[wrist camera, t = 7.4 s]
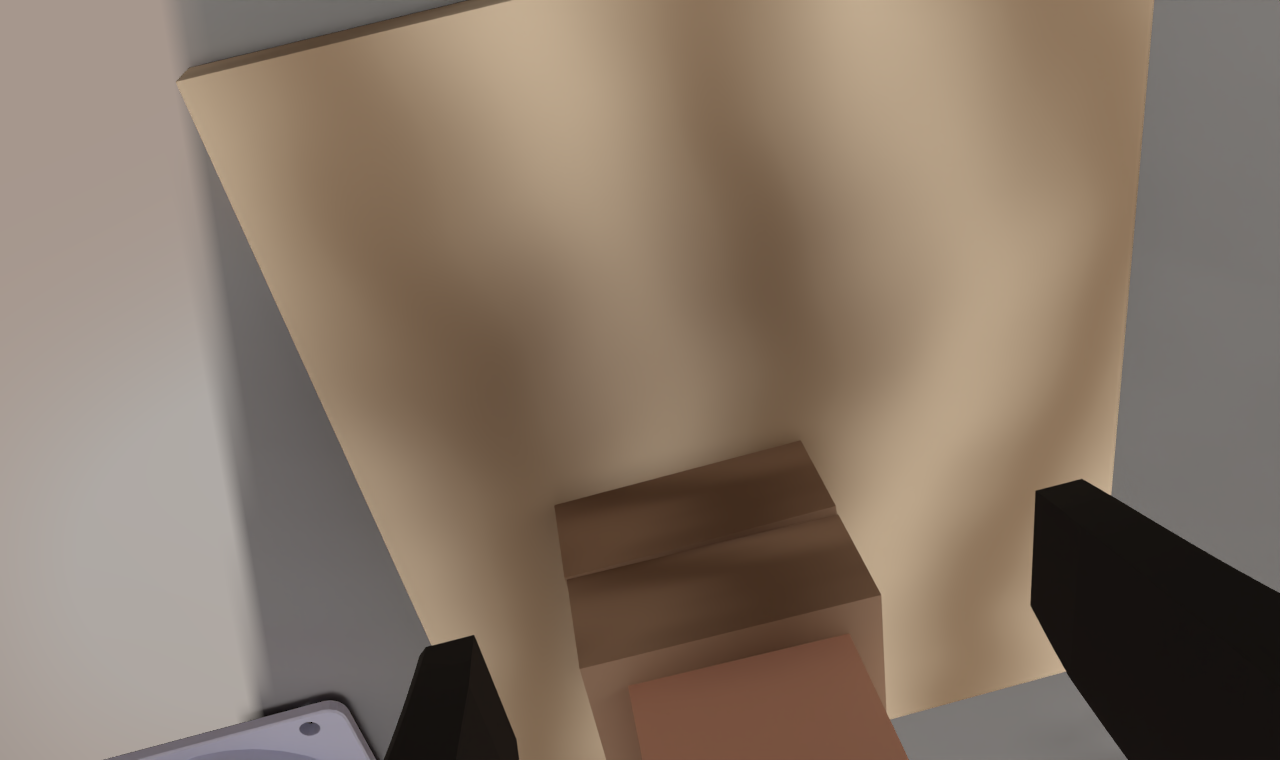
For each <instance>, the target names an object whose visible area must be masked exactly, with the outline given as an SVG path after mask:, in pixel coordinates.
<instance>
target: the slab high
mask: <svg viewBox="0 0 1280 760" xmlns="http://www.w3.org/2000/svg"><path fill="white" fill-rule="evenodd" d="M567 585H568V592H569V599H570V606H571V613H572V620H573V627H574V634H575V641H576V648H577V654H578V661H579V668H580V672H581V676H582V679H583V682H584V686H585V689H586V693H587V696H588V699H589V703H590V706H591V710H592V713H593V716H594V720H595V723H596V727H597V730H598V734H599V737H600V740H601V744H602V747H603V751H604V754H605V757H606V760H642V756H641V751H640V746H639V741H638V735H637V730H636V725H635V720H634V715H633V710H632V705H631V700H630V695H629V689H628V686H630V685H634V684H638V683H642V682H647V681H651V680H655V679H659V678H663V677H668V676H672V675H676V674H680V673H684V672H689V671H693V670H697V669H701V668H705V667H710V666H714V665H718V664H722V663H726V662H731V661H735V660H739V659H743V658H748V657H752V656H756V655H760V654H764V653H769V652H773V651H777V650H781V649H785V648H790V647H794V646H798V645H802V644H806V643H811V642H815V641H819V640H823V639H827V638H832V637H836V636H840V635H844V634H848V633H849V634H850V636H851V638H852V640H853V642H854V645H855V647H856V649H857V651H858V653H859V655H860V657H861V659H862V662H863V664H864V666H865V668H866V670H867V672H868V674H869V676H870V679H871V681H872V683H873V685H874V687H875V689H876V691H877V693H878V696H879V698H880V700H881V702H882V704H883V706H884V708H885V710H886V689H885V667H884V644H883V621H882V599H881V593H880V591H879V590H878V588H877V586H876V584H875V582H874V580H873V578H872V576H871V575H870V573H869V571H868V569H867V567H866V565H865V563H864V561H863V560H862V558H861V556H860V554H859V552H858V550H857V548H856V546H855V545H854V543H853V541H852V539H851V537H850V535H849V533H848V531H847V530H846V528H845V526H844V524H843V522H842V520H841V518H840V516H839V515H838V514H837V515H833V516H829V517H825V518H820V519H816V520H812V521H808V522H804V523H800V524H795V525H791V526H787V527H783V528H779V529H775V530H771V531H766V532H762V533H758V534H754V535H750V536H746V537H742V538H737V539H733V540H729V541H725V542H721V543H717V544H712V545H708V546H704V547H700V548H696V549H692V550H688V551H683V552H679V553H675V554H671V555H667V556H663V557H659V558H654V559H650V560H646V561H642V562H638V563H634V564H629V565H625V566H621V567H617V568H613V569H609V570H605V571H600V572H596V573H592V574H588V575H584V576H580V577H576V578H571V579H567ZM886 713H887V712H886Z"/></svg>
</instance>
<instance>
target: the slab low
mask: <svg viewBox="0 0 1280 760" xmlns="http://www.w3.org/2000/svg"><path fill="white" fill-rule="evenodd" d="M554 508H555V515H556V522H557V529H558V536H559V543H560V550H561V557H562V564H563V571H564V578H565V581H566V584H567V579H571V578H576V577H580V576H584V575H588V574H592V573H596V572H600V571H605V570H609V569H613V568H617V567H621V566H625V565H629V564H634V563H638V562H642V561H646V560H650V559H654V558H659V557H663V556H667V555H671V554H675V553H679V552H683V551H688V550H692V549H696V548H700V547H704V546H708V545H712V544H717V543H721V542H725V541H729V540H733V539H737V538H742V537H746V536H750V535H754V534H758V533H762V532H766V531H771V530H775V529H779V528H783V527H787V526H791V525H795V524H800V523H804V522H808V521H812V520H816V519H820V518H825V517H829V516H833V515H837V511H836V505H835V503H834V501H833V500H832V498H831V496H830V494H829V492H828V490H827V488H826V487H825V485H824V483H823V481H822V479H821V477H820V475H819V473H818V472H817V470H816V468H815V466H814V464H813V462H812V460H811V459H810V457H809V455H808V453H807V451H806V449H805V447H804V446H803V444H802V442H801V440H800V441H796V442H793V443H789V444H785V445H781V446H777V447H774V448H770V449H766V450H762V451H758V452H755V453H751V454H747V455H743V456H739V457H736V458H732V459H728V460H724V461H720V462H717V463H713V464H709V465H705V466H701V467H697V468H694V469H690V470H686V471H682V472H678V473H675V474H671V475H667V476H663V477H659V478H656V479H652V480H648V481H644V482H640V483H637V484H633V485H629V486H625V487H621V488H618V489H614V490H610V491H606V492H602V493H599V494H595V495H591V496H587V497H583V498H580V499H576V500H572V501H568V502H564V503H561V504H557V505H554ZM567 587H568V585H567Z"/></svg>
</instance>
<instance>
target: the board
mask: <svg viewBox="0 0 1280 760" xmlns="http://www.w3.org/2000/svg"><path fill="white" fill-rule="evenodd" d="M1153 6H1154V0H468V1H464V2H459V3H455V4H451V5H447V6H443V7H439V8H435V9H430V10H426V11H422V12H418V13H414V14H410V15H406V16H402V17H397V18H393V19H389V20H385V21H381V22H377V23H373V24H369V25H364V26H360V27H356V28H352V29H348V30H344V31H340V32H336V33H331V34H327V35H323V36H319V37H315V38H311V39H307V40H303V41H298V42H294V43H290V44H286V45H282V46H278V47H274V48H269V49H265V50H261V51H257V52H253V53H249V54H245V55H241V56H236V57H232V58H228V59H224V60H220V61H216V62H212V63H208V64H203V65H199V66H195V67H191V68H189V69H188V70H187V71H186V72H185V73H184V74H183V75H182V76H181V77H180V78H179V79H178V80H177V81H176V84H177V86H178V88H179V90H180V93H181V95H182V97H183V99H184V101H185V104H186V106H187V108H188V110H189V112H190V115H191V117H192V119H193V121H194V123H195V126H196V128H197V130H198V132H199V134H200V137H201V139H202V141H203V143H204V145H205V148H206V150H207V152H208V154H209V156H210V159H211V161H212V163H213V165H214V167H215V170H216V172H217V174H218V176H219V178H220V181H221V183H222V185H223V187H224V189H225V192H226V194H227V196H228V198H229V200H230V203H231V205H232V207H233V209H234V211H235V214H236V216H237V218H238V220H239V222H240V225H241V227H242V229H243V231H244V233H245V236H246V238H247V240H248V242H249V244H250V247H251V249H252V251H253V253H254V255H255V258H256V260H257V262H258V264H259V266H260V269H261V271H262V273H263V275H264V277H265V280H266V282H267V284H268V286H269V289H270V291H271V293H272V295H273V297H274V300H275V302H276V304H277V306H278V308H279V311H280V313H281V315H282V317H283V319H284V322H285V324H286V326H287V328H288V330H289V333H290V335H291V337H292V339H293V341H294V344H295V346H296V348H297V350H298V352H299V355H300V357H301V359H302V361H303V363H304V366H305V368H306V370H307V372H308V374H309V377H310V379H311V381H312V383H313V385H314V388H315V390H316V392H317V394H318V396H319V399H320V401H321V403H322V405H323V407H324V410H325V412H326V414H327V416H328V418H329V421H330V423H331V425H332V427H333V429H334V432H335V434H336V436H337V438H338V440H339V443H340V445H341V447H342V449H343V451H344V454H345V456H346V458H347V460H348V462H349V465H350V467H351V469H352V471H353V473H354V476H355V478H356V480H357V482H358V485H359V487H360V489H361V491H362V493H363V496H364V498H365V500H366V502H367V504H368V507H369V509H370V511H371V513H372V515H373V518H374V520H375V522H376V524H377V526H378V529H379V531H380V533H381V535H382V537H383V540H384V542H385V544H386V546H387V548H388V551H389V553H390V555H391V557H392V559H393V562H394V564H395V566H396V568H397V570H398V573H399V575H400V577H401V579H402V581H403V584H404V586H405V588H406V590H407V592H408V595H409V597H410V599H411V601H412V603H413V606H414V608H415V610H416V612H417V614H418V617H419V619H420V621H421V623H422V625H423V628H424V630H425V632H426V634H427V636H428V639H429V641H430V643H431V645H436V644H440V643H444V642H448V641H452V640H456V639H460V638H463V637H467V636H471V635H475V638H476V640H477V643H478V645H479V648H480V650H481V653H482V655H483V658H484V660H485V663H486V665H487V668H488V670H489V672H490V675H491V677H492V680H493V682H494V685H495V687H496V690H497V692H498V695H499V697H500V700H501V702H502V705H503V707H504V710H505V712H506V715H507V717H508V720H509V722H510V724H511V727H512V729H513V732H514V734H515V737H516V739H517V747H518V754H519V760H606V757H605V754H604V751H603V747H602V744H601V740H600V737H599V734H598V730H597V727H596V723H595V720H594V716H593V713H592V710H591V706H590V703H589V699H588V696H587V693H586V689H585V686H584V682H583V679H582V676H581V672H580V668H579V661H578V654H577V648H576V641H575V634H574V627H573V620H572V613H571V606H570V599H569V592H568V587H567V584H566V581H565V578H564V571H563V564H562V557H561V550H560V543H559V536H558V529H557V522H556V515H555V508H554V505H557V504H561V503H564V502H568V501H572V500H576V499H580V498H583V497H587V496H591V495H595V494H599V493H602V492H606V491H610V490H614V489H618V488H621V487H625V486H629V485H633V484H637V483H640V482H644V481H648V480H652V479H656V478H659V477H663V476H667V475H671V474H675V473H678V472H682V471H686V470H690V469H694V468H697V467H701V466H705V465H709V464H713V463H717V462H720V461H724V460H728V459H732V458H736V457H739V456H743V455H747V454H751V453H755V452H758V451H762V450H766V449H770V448H774V447H777V446H781V445H785V444H789V443H793V442H796V441H800V440H801V442H802V444H803V446H804V447H805V449H806V451H807V453H808V455H809V457H810V459H811V460H812V462H813V464H814V466H815V468H816V470H817V472H818V473H819V475H820V477H821V479H822V481H823V483H824V485H825V487H826V488H827V490H828V492H829V494H830V496H831V498H832V500H833V501H834V503H835V505H836V511H837V514H838V515H839V516H840V518H841V520H842V522H843V524H844V526H845V528H846V530H847V531H848V533H849V535H850V537H851V539H852V541H853V543H854V545H855V546H856V548H857V550H858V552H859V554H860V556H861V558H862V560H863V561H864V563H865V565H866V567H867V569H868V571H869V573H870V575H871V576H872V578H873V580H874V582H875V584H876V586H877V588H878V590H879V591H880V593H881V599H882V621H883V644H884V667H885V689H886V712H887V715H888V717H889V719H893V718H897V717H901V716H904V715H908V714H912V713H915V712H919V711H923V710H926V709H930V708H934V707H937V706H941V705H945V704H948V703H952V702H956V701H959V700H963V699H967V698H970V697H974V696H978V695H981V694H985V693H989V692H992V691H996V690H1000V689H1003V688H1007V687H1011V686H1014V685H1018V684H1022V683H1025V682H1029V681H1033V680H1036V679H1040V678H1044V677H1047V676H1051V675H1055V674H1058V673H1062V672H1066V670H1065V669H1064V667H1063V665H1062V663H1061V661H1060V660H1059V658H1058V656H1057V654H1056V653H1055V651H1054V649H1053V647H1052V645H1051V644H1050V642H1049V640H1048V638H1047V636H1046V634H1045V632H1044V630H1043V629H1042V627H1041V625H1040V623H1039V621H1038V619H1037V617H1036V615H1035V613H1034V611H1033V610H1032V608H1031V606H1030V601H1031V579H1032V557H1033V534H1034V512H1035V491H1036V490H1040V489H1044V488H1048V487H1052V486H1056V485H1060V484H1063V483H1067V482H1071V481H1075V480H1079V479H1083V480H1085V481H1087V482H1089V483H1090V484H1092V485H1094V486H1095V487H1097V488H1099V489H1101V490H1102V491H1104V492H1106V493H1107V494H1109V495H1111V490H1112V478H1113V467H1114V455H1115V444H1116V432H1117V421H1118V409H1119V398H1120V386H1121V375H1122V363H1123V352H1124V340H1125V329H1126V317H1127V306H1128V294H1129V283H1130V271H1131V260H1132V248H1133V237H1134V225H1135V214H1136V202H1137V191H1138V179H1139V168H1140V156H1141V145H1142V133H1143V122H1144V110H1145V99H1146V87H1147V75H1148V64H1149V52H1150V41H1151V29H1152V18H1153Z"/></svg>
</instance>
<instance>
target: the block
mask: <svg viewBox="0 0 1280 760" xmlns="http://www.w3.org/2000/svg"><path fill="white" fill-rule="evenodd" d="M628 689H629V695H630V700H631V705H632V710H633V715H634V720H635V725H636V730H637V735H638V741H639V746H640V751H641V756H642V760H909V759H908V757H907V755H906V753H905V751H904V749H903V747H902V744H901V742H900V740H899V738H898V736H897V734H896V732H895V730H894V727H893V725H892V723H891V721H890V719H889V717H888V715H887V713H886V710H885V708H884V706H883V704H882V702H881V700H880V698H879V696H878V693H877V691H876V689H875V687H874V685H873V683H872V681H871V679H870V676H869V674H868V672H867V670H866V668H865V666H864V664H863V662H862V659H861V657H860V655H859V653H858V651H857V649H856V647H855V645H854V642H853V640H852V638H851V636H850V634H849V633H848V634H844V635H840V636H836V637H832V638H827V639H823V640H819V641H815V642H811V643H806V644H802V645H798V646H794V647H790V648H785V649H781V650H777V651H773V652H769V653H764V654H760V655H756V656H752V657H748V658H743V659H739V660H735V661H731V662H726V663H722V664H718V665H714V666H710V667H705V668H701V669H697V670H693V671H689V672H684V673H680V674H676V675H672V676H668V677H663V678H659V679H655V680H651V681H647V682H642V683H638V684H634V685H630V686H628Z"/></svg>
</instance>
